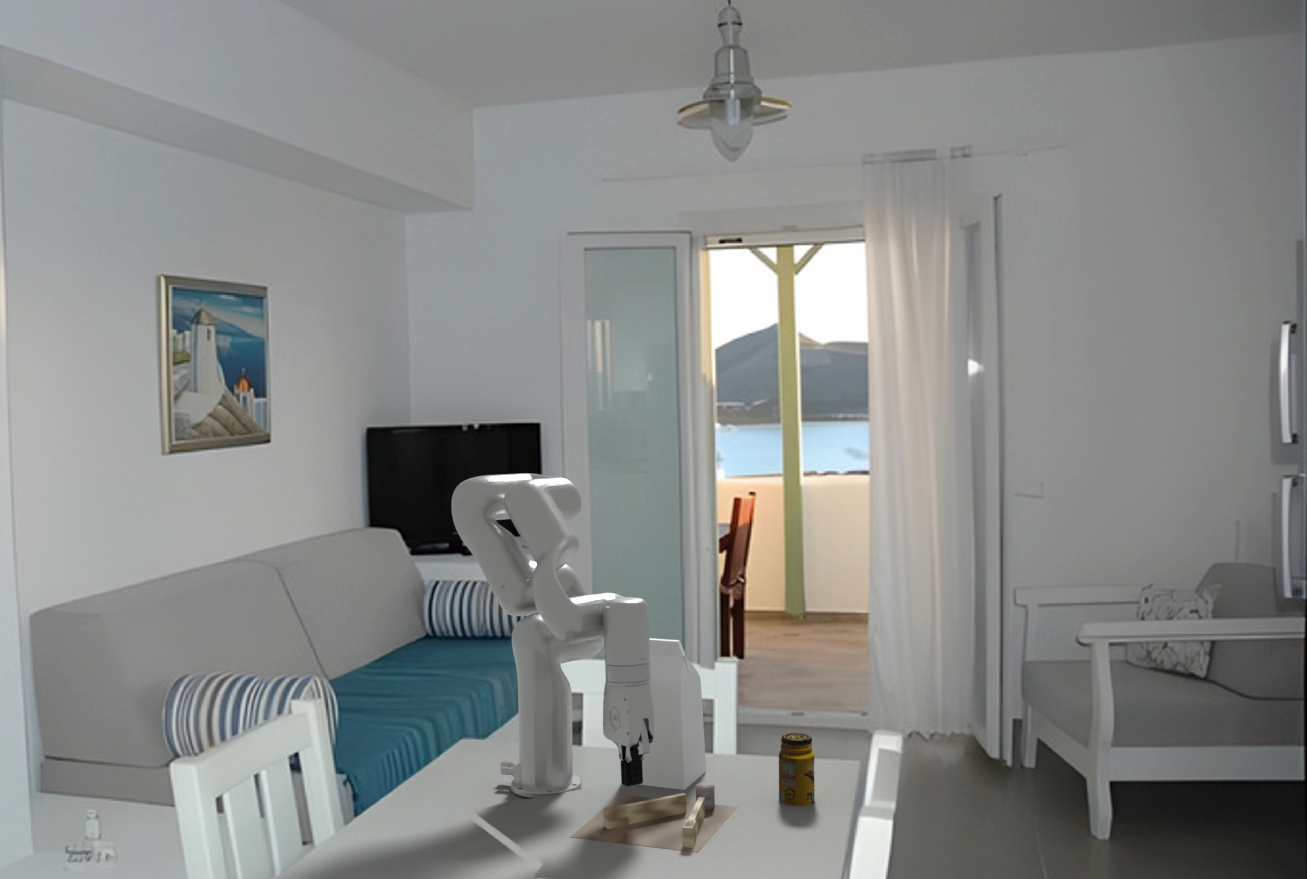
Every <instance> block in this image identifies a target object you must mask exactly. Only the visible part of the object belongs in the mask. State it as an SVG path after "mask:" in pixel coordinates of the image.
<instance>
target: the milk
mask: <svg viewBox="0 0 1307 879" xmlns="http://www.w3.org/2000/svg"><path fill="white" fill-rule="evenodd" d="M649 640H650V668H651V682H650V688H651V694H652V701H653V711H654V724H655V736H654V741H653V742H652V743H649V746H650V753H646V754H644V759H643V760H642V771H643V783H642V784H638V786H639V785H640V786H650V787H657V788H664V789H665V788H666V789H674V790H684V791H685V790H686V789H687V788H689V787H690V786H692V784H693V783H695V782H696V781H697V780H698V779H699V778H701V777H702V776H703V775H704V774H705V773H706V772H707V758H706V746H705V744H706V743H705V742H706V741H705V727H704V726H705V725H704V715H703V713H704V711H703V709H704V708H703V697H702V696H703V694H702V682H701V677H700V674H699V671H697V669H696V668H695V666H694V664H692V662H691V660H690V659H689V658H688V656H686V652H685V650H684V647H683V645H682V642H681V640H680V639H667V638H665V639H664V638H653V637H652V638H650V637H649ZM638 741H639V740H638Z"/></svg>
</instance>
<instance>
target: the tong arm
mask: <svg viewBox="0 0 1307 879" xmlns="http://www.w3.org/2000/svg"><path fill="white" fill-rule="evenodd" d="M686 801H687V794H686V793H684V792H682V793H676V794H671V795H666V796H662V797H655V799H650V800H645V801H640V802H635V803H630V804H625V805H624V804H622V805H617V806H612V807H607V808H605V807H604V808H603V809H604V827H605V828H607V829H613V828H618V827H623V826H628V825H629V824H634V823H639V822H644V821H648V820H653V819H658V818H663V817H668V816H672V815H677V814H682V813H687V812H686Z"/></svg>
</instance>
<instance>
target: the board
mask: <svg viewBox="0 0 1307 879" xmlns="http://www.w3.org/2000/svg"><path fill="white" fill-rule="evenodd" d="M655 798H656V797H655ZM655 798H654V797H646V796H637V795H628V794H619V795H618V796H617V797H615V798H614V799H613V800H612V801H611V802H609V803H608V804H607V805H606V806H605V807H604V808H607V807H612V806H617V805H622V804H624V805H625V804H630V803H635V802H640V801H645V800H650V799H655ZM695 804H696V801H694V802H693V801H687V800H686V812H687V813H682V814H677V815H672V816H668V817H663V818H658V819H653V820H648V821H644V822H639V823H634V824H629V825H628V826H623V827H618V828H613V829H607V828H605V827H604V808H603V809H601V810H600V811H599V812H598V813H597V814H595V815H594V816H593V817H592V818H590V819H589V820H588V821H587V822H585V824H583V825H582V826H581V827H579V829H578V830H576V831H575V832H574V833H572V835H570V836H569V838H571V839H581V840H589V841H596V842H597V841H598V842H607V843H615V844H620V845H621V844H622V845H630V846H640V847H647V848H657V849H665V850H672V851H673V850H674V851H681V852H690V853H697V854H698V853H699V851H701V850H702V848H703V847H704V846H705V845H706V844H707V842H709V840H710V839H711V838H712V837H713V835H714V834H716V832H717V831H718V830H719V829H720V827H722V826H723V825H724V823H725V822H726V821H727V819H728V818H730V816H731V815H732V814H733V813H734V812H735V810H736V809H737V808H738V806H735V805H734V806H731V805H725V804H715V808H714V809H713V810H708V811H705V816H704V818H703V821H702V823H701V825H700V828H699V830H698V832H697V835H696V841H695V844H694V846H693V848H688V847H682V827H683V825H684V823H685V821H686V820H688V819H689V817H690V814H691V812H692V810H693V808H694V806H695Z"/></svg>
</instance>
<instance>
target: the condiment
mask: <svg viewBox="0 0 1307 879" xmlns="http://www.w3.org/2000/svg"><path fill="white" fill-rule="evenodd" d="M780 742H781V743H780V750H779V753H778V802H780V803H781V804H784V805H787V806H794V807H795V806H796V807H797V806H799V807H800V806H802V807H803V806H809V805H812V804H813V803H814V802H815V753H814V751H813V743H812V742H813V738H812V736H810V735H808V734H806V733H801V732H788V733H785V734H782V736H781V738H780Z"/></svg>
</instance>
